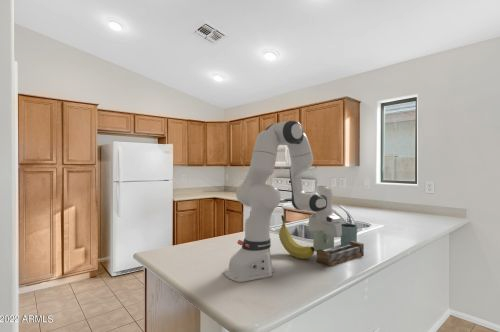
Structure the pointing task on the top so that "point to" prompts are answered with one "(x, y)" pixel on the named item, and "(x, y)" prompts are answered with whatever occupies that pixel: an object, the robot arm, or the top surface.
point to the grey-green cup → (348, 234)
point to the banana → (293, 244)
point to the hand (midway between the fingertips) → (323, 242)
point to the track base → (340, 254)
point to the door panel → (322, 241)
